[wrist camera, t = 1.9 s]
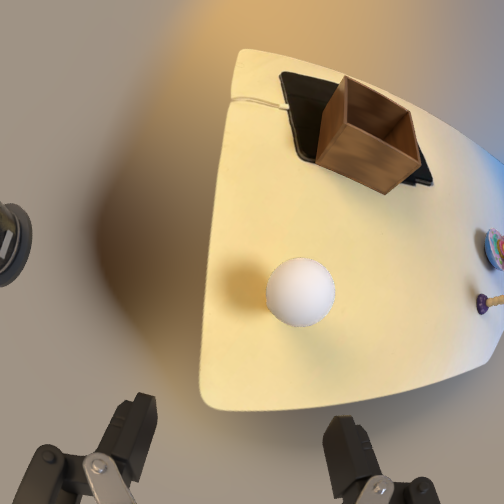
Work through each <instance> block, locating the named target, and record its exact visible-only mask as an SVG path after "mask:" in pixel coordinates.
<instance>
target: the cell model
mask: <svg viewBox="0 0 504 504" xmlns="http://www.w3.org/2000/svg"><path fill="white" fill-rule="evenodd" d="M485 251H486V255H487V257H488V260H489V261H490V263H491V264H492V265H493V266H494V267H495V268H496V269H498V270H501V271H504V236H501V234H500V233H499V232H498V231H497V230H496V229H495V228H490V230H489V231H488V233H487V235H486V238H485Z"/></svg>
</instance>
